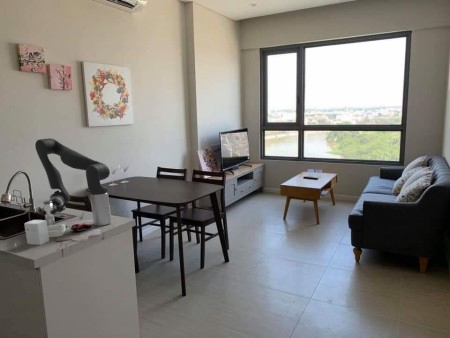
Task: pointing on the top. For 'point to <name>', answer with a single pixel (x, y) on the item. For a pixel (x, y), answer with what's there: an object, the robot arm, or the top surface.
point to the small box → (36, 232)
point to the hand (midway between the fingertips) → (47, 213)
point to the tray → (56, 230)
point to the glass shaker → (49, 212)
